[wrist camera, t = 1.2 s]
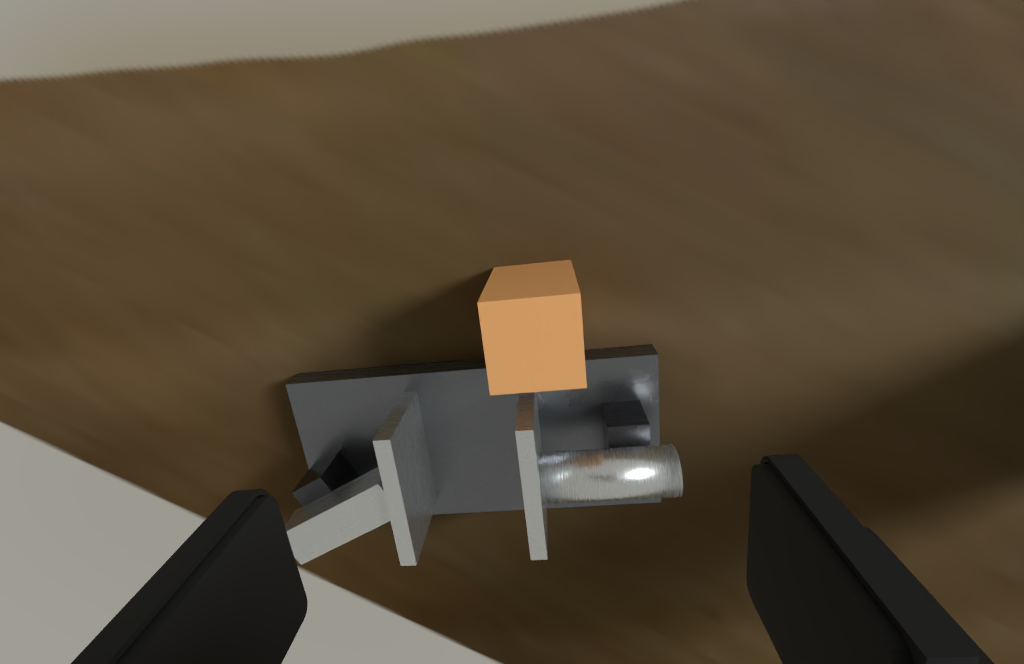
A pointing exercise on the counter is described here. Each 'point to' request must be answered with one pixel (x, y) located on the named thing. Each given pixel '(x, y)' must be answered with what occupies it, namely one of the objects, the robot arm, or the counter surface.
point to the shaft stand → (472, 448)
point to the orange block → (533, 329)
